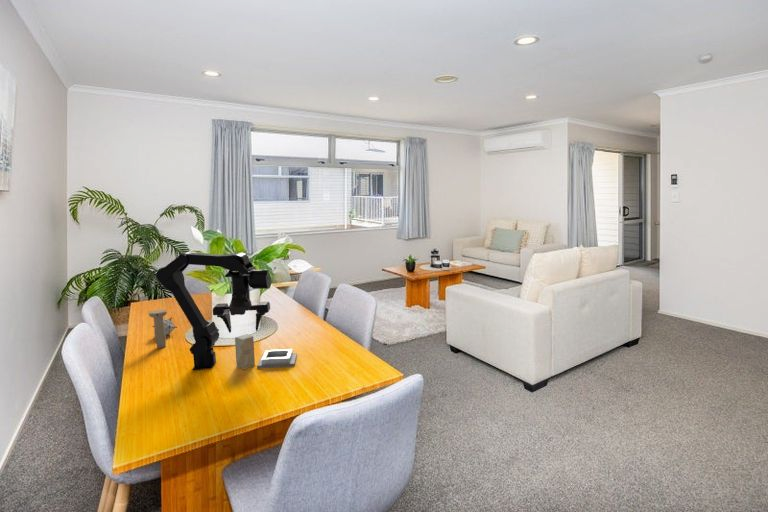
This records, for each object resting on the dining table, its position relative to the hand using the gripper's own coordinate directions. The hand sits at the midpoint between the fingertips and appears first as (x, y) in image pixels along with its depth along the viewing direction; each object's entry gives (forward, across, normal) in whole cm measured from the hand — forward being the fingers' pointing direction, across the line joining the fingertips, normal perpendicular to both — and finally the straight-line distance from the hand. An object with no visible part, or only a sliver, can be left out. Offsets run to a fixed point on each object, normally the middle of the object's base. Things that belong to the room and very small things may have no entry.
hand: (243, 331), depth 151 cm
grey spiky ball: (+13, -43, +40) cm, 60 cm away
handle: (+13, -39, +25) cm, 48 cm away
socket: (+13, +11, +2) cm, 17 cm away
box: (+13, 0, 0) cm, 13 cm away
